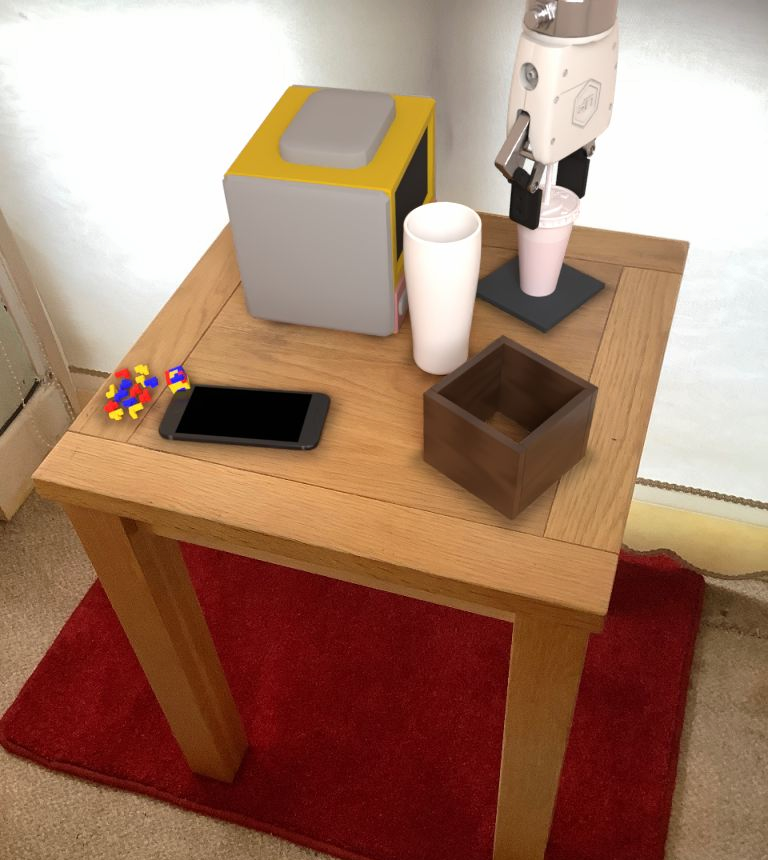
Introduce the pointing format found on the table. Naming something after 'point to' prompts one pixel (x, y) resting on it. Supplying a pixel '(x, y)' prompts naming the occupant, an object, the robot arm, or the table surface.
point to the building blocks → (174, 379)
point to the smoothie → (547, 239)
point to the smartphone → (246, 417)
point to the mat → (533, 309)
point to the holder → (520, 401)
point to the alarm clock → (331, 206)
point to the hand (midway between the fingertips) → (547, 206)
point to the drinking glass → (441, 282)
